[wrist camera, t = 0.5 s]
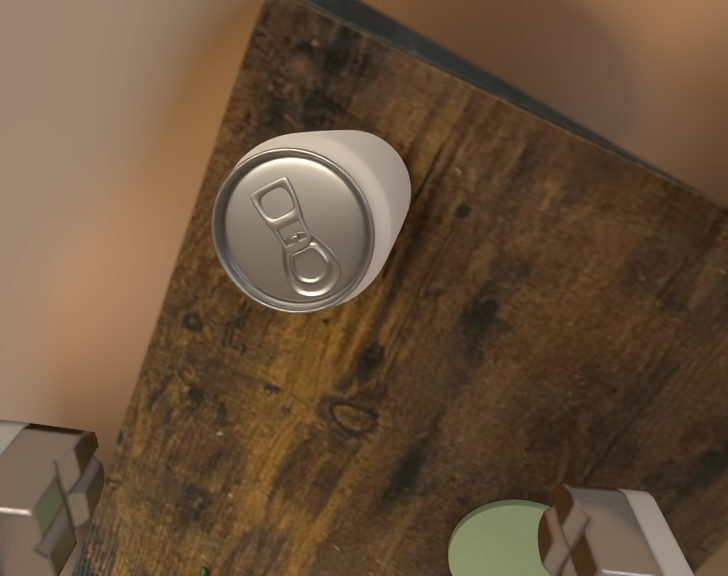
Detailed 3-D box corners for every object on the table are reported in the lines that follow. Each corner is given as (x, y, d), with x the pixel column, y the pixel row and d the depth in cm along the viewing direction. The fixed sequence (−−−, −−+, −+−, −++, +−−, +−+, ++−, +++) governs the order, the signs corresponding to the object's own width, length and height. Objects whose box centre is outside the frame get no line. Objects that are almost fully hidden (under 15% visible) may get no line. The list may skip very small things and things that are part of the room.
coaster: (449, 493, 33) (449, 500, 33) (596, 504, 32) (598, 511, 31) (447, 601, 36) (447, 608, 35) (582, 615, 35) (585, 623, 34)
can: (329, 265, 30) (257, 352, 19) (275, 163, 29) (163, 188, 17) (431, 219, 28) (420, 283, 17) (380, 107, 27) (331, 94, 16)
